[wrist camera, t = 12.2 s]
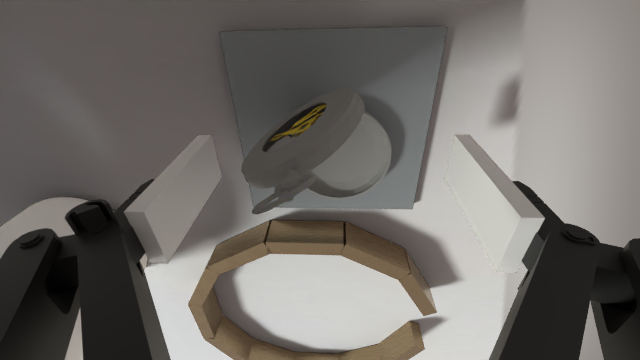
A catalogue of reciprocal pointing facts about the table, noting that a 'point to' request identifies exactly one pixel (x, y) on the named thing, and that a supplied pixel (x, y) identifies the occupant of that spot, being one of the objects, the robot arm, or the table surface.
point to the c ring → (314, 240)
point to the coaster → (333, 73)
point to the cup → (53, 218)
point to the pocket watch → (320, 151)
